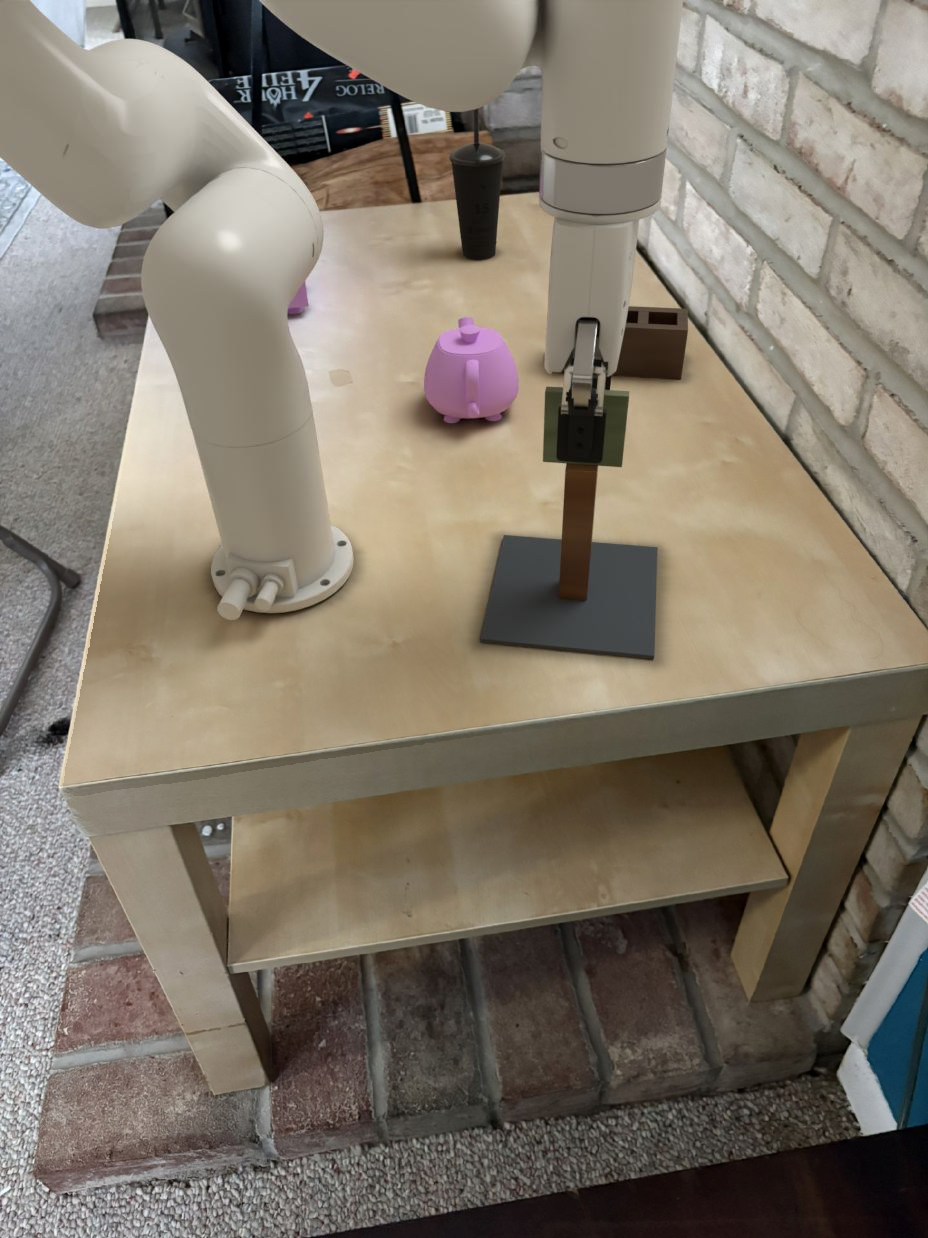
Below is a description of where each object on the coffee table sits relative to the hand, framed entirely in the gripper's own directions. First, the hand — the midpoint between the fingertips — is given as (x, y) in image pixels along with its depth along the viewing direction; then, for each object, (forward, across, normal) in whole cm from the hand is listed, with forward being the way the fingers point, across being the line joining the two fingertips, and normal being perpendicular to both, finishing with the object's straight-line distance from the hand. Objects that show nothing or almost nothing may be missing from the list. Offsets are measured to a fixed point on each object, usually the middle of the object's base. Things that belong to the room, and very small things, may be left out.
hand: (584, 423), depth 68 cm
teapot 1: (+17, -56, -46) cm, 74 cm away
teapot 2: (+17, -31, -14) cm, 38 cm away
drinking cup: (+17, -74, -20) cm, 78 cm away
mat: (+17, 0, 0) cm, 17 cm away
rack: (+17, -42, +2) cm, 45 cm away
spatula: (+16, 0, 0) cm, 16 cm away
